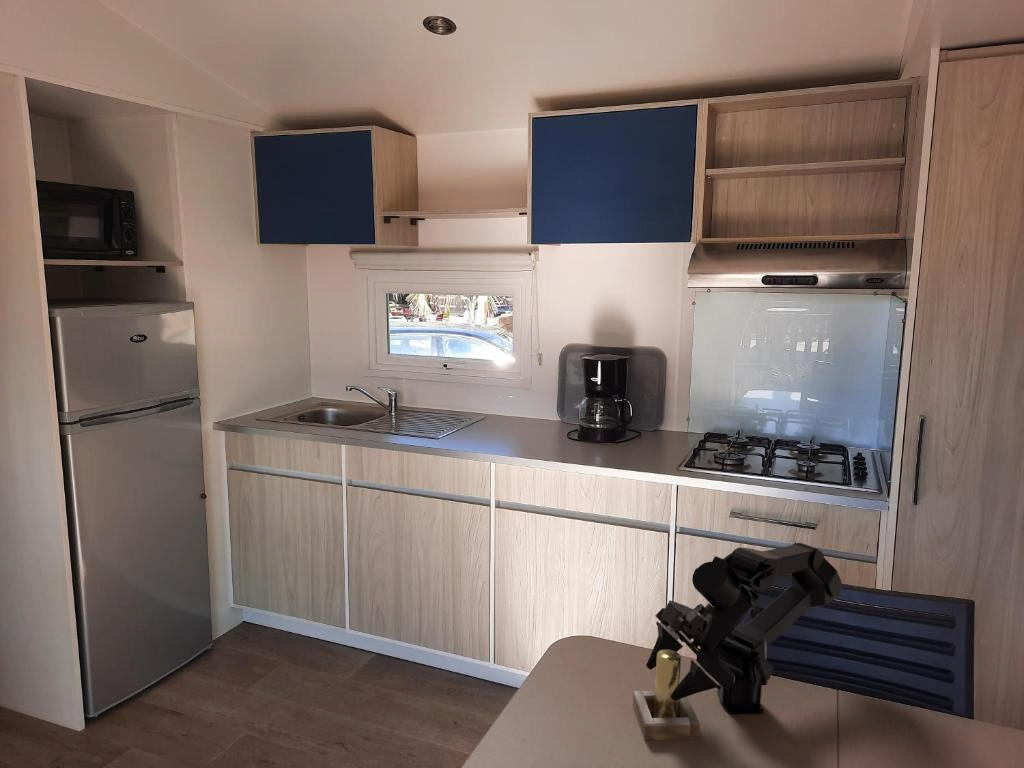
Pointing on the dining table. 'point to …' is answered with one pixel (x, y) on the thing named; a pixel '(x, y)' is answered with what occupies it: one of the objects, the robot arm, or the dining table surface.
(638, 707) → the shallow grey tray
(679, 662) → the gold cylinder
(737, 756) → the dining table surface
